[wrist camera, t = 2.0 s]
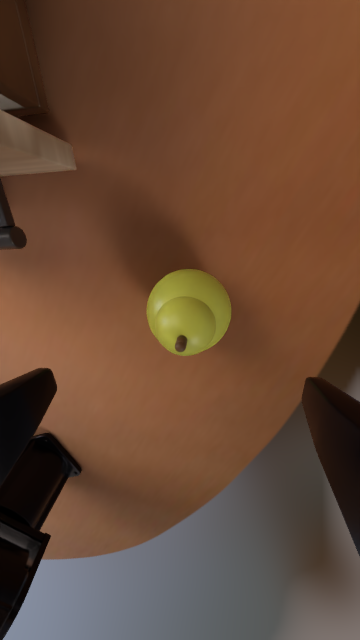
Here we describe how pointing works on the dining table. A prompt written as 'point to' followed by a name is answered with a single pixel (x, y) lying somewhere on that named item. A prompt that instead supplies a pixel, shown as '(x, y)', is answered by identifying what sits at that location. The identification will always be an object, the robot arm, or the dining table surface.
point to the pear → (188, 311)
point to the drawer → (20, 100)
